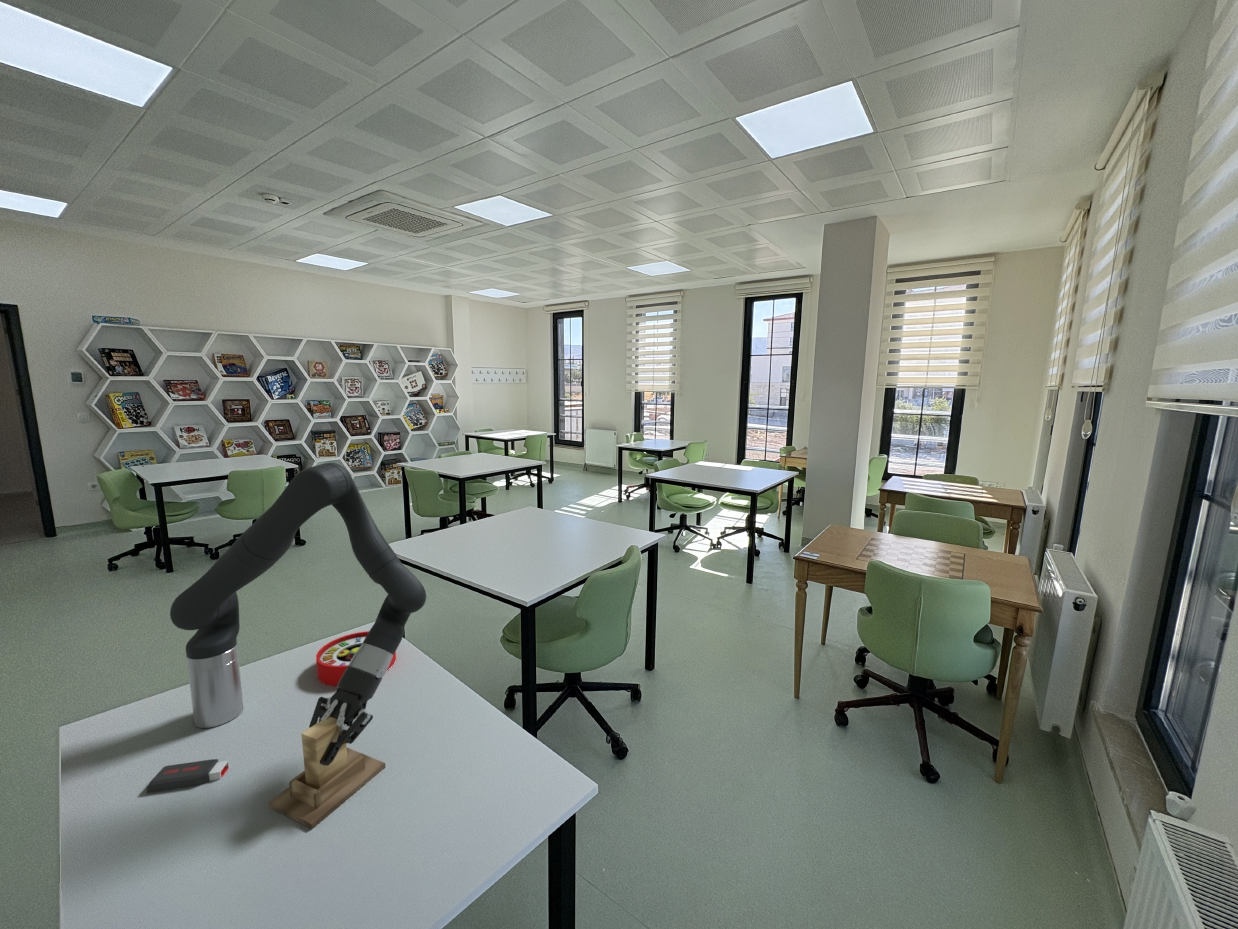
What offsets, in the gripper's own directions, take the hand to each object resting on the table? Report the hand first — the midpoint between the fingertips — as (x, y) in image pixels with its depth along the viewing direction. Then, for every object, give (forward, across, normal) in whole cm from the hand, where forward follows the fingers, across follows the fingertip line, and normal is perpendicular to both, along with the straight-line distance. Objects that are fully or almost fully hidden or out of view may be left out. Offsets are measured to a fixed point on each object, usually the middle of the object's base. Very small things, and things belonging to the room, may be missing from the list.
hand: (316, 760), depth 94 cm
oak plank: (+2, 0, +5) cm, 5 cm away
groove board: (+4, 0, +7) cm, 8 cm away
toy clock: (-19, -33, +31) cm, 49 cm away
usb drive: (+11, -28, 0) cm, 30 cm away
